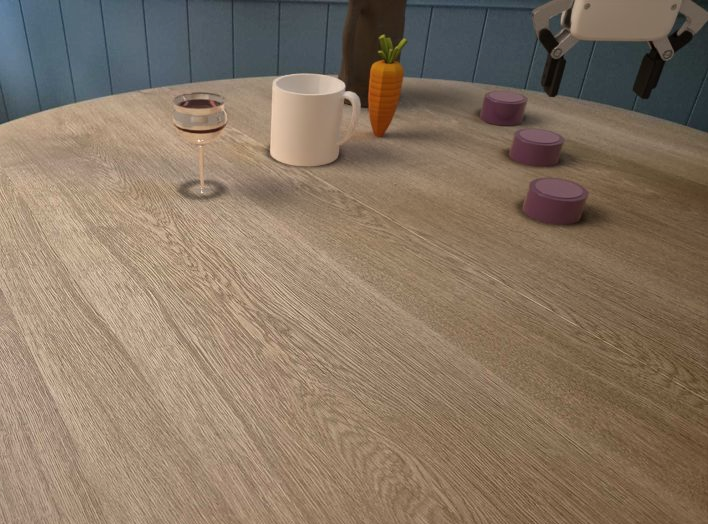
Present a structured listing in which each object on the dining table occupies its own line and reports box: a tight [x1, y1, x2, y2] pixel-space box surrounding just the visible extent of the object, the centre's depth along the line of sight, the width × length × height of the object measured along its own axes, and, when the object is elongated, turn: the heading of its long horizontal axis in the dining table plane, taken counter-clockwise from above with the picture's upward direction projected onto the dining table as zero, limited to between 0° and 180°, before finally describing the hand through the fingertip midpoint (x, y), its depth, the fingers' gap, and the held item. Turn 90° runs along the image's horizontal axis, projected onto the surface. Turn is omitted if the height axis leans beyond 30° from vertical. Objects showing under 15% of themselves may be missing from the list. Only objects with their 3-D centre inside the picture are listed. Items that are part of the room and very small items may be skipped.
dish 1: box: [479, 90, 529, 127], centre depth 109 cm, size 7×7×4 cm
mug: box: [269, 73, 362, 167], centre depth 93 cm, size 13×10×10 cm
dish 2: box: [508, 127, 565, 167], centre depth 95 cm, size 7×7×4 cm
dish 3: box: [521, 177, 590, 226], centre depth 81 cm, size 7×7×4 cm
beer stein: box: [337, 0, 408, 108], centre depth 111 cm, size 15×11×20 cm
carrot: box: [368, 35, 409, 138], centre depth 98 cm, size 5×5×15 cm
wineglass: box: [171, 91, 229, 194], centre depth 83 cm, size 7×7×12 cm
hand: (594, 94), depth 73 cm, fingers open, 9 cm apart
